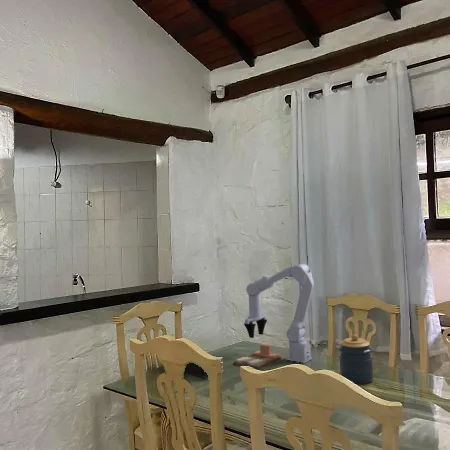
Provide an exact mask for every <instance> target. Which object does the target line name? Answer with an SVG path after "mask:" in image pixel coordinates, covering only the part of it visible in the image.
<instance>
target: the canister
mask: <svg viewBox="0 0 450 450" xmlns="http://www.w3.org/2000/svg"><path fill="white" fill-rule="evenodd" d="M340 345H341V346H339V347H338V350H339V356H338V359H339V375H340V374H341V375H342V376H344V377H346V378H347V379H349V380H351V381H353V382H354V383H353V384H369V383H372V382H373V380H374V376H375V375H374V374H375V372H374V368H373V367H374V366H373V364H374V363H373V360H374V358H373V356H372V352H373V348H372V347H371V346H370V345H371V342H369V341H367V340H366V338H361V337H359V336H358V334H352V335H351V337H347V338H344V339H343V340H341V341H340Z"/></svg>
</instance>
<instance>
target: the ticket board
mask: <svg viewBox="0 0 450 450" xmlns="http://www.w3.org/2000/svg"><path fill="white" fill-rule="evenodd" d="M279 359H280V360H281V359H282V357H281V356H279V357H277V358H275V359H274V358H268V357H263V356H257V355H253V354H250V355H248V356H245V355H244V356H243V357H239V358H237V359H236V360H235V361H233V363H232V364H233V365H235V366H239V367H242V366H241V365H244V366H250V367H253V368H252V369H254V368H256V369H255V370H261V369H263V368H265V367H267V366H269V365H271V364H273V363H275V362H278V361H280V360H279ZM244 366H243V367H244Z"/></svg>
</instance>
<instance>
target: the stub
mask: <svg viewBox="0 0 450 450" xmlns="http://www.w3.org/2000/svg"><path fill="white" fill-rule="evenodd" d="M259 349H260V350H257V351H254V352H253V355H257V356H263V357H268V358H274V359H275V358H277V357H280V353H274V352H272V345H271V344H265V343H261V344H259Z"/></svg>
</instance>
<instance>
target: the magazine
mask: <svg viewBox="0 0 450 450" xmlns="http://www.w3.org/2000/svg"><path fill="white" fill-rule="evenodd" d="M185 374H187V375H191V376H194V377H201V378H206V379H207V378H209V377H208V375H207V373H206V372H204V370H203V369H202V368H201V367H199V366H198V365H196V364H194V363H189V364H187V366H186V368H185Z"/></svg>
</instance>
